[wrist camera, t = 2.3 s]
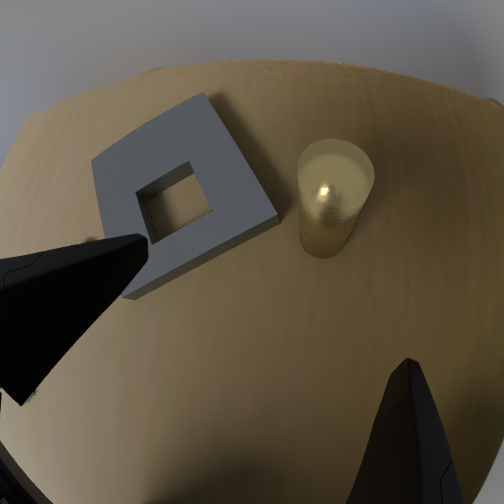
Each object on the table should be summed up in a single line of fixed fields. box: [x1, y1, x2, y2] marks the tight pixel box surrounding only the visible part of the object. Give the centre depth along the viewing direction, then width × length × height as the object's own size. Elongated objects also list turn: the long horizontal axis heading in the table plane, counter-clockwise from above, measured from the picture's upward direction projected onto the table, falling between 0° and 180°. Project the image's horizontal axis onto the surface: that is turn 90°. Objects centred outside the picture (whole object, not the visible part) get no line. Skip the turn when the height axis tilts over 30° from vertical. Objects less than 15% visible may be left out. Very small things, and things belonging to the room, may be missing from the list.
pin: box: [297, 139, 375, 258], centre depth 17 cm, size 4×4×10 cm
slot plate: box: [91, 92, 280, 300], centre depth 24 cm, size 16×14×2 cm
